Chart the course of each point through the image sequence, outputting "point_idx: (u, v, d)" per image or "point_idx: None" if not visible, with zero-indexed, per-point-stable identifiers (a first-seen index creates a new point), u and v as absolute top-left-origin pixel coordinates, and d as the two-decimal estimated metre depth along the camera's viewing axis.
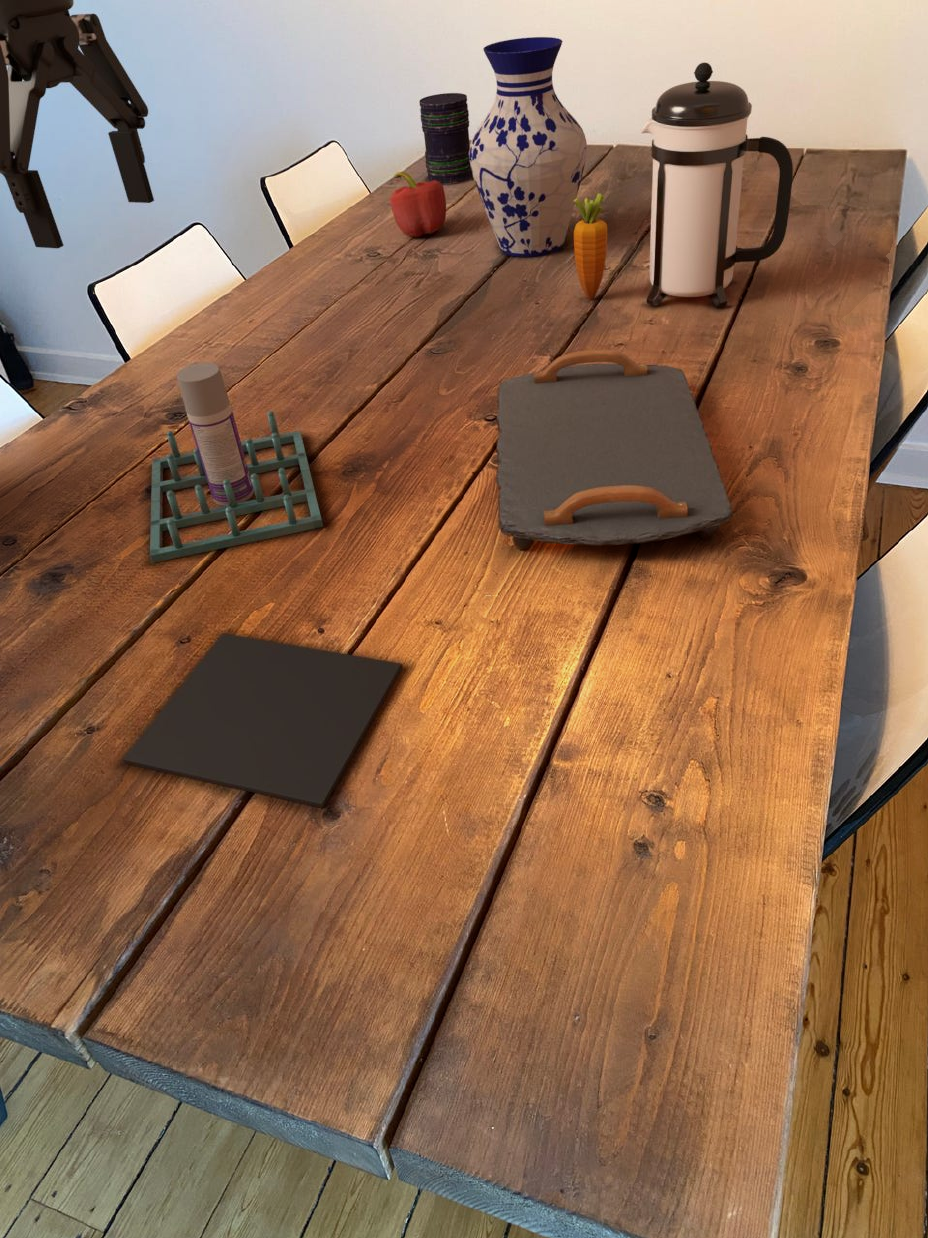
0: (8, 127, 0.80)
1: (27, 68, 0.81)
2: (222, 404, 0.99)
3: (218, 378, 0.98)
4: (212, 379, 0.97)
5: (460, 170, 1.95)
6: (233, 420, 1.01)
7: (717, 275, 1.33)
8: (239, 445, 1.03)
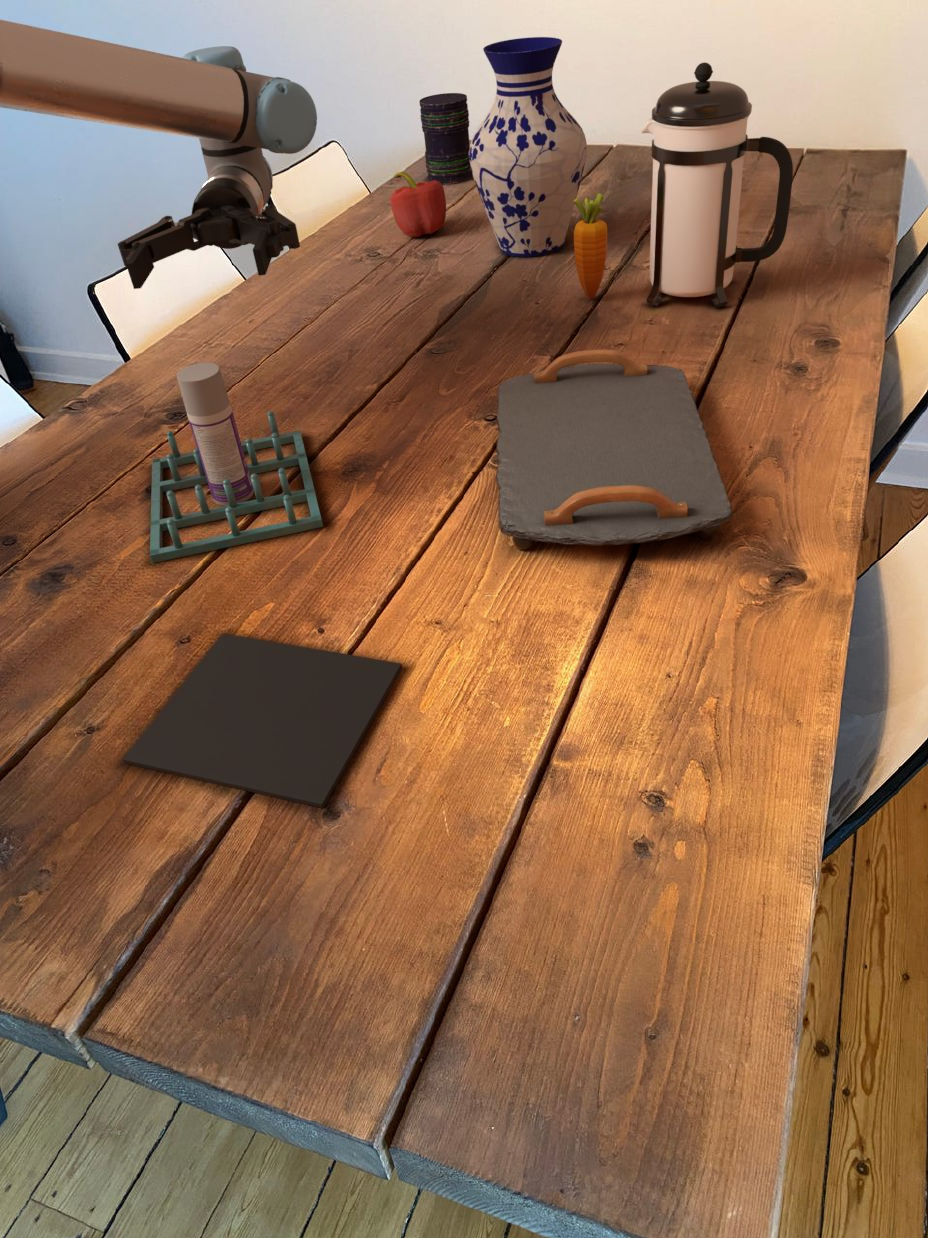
0: None
1: None
2: (222, 404, 0.99)
3: (218, 378, 0.98)
4: (212, 379, 0.97)
5: (460, 170, 1.95)
6: (233, 420, 1.01)
7: (717, 275, 1.33)
8: (239, 445, 1.03)
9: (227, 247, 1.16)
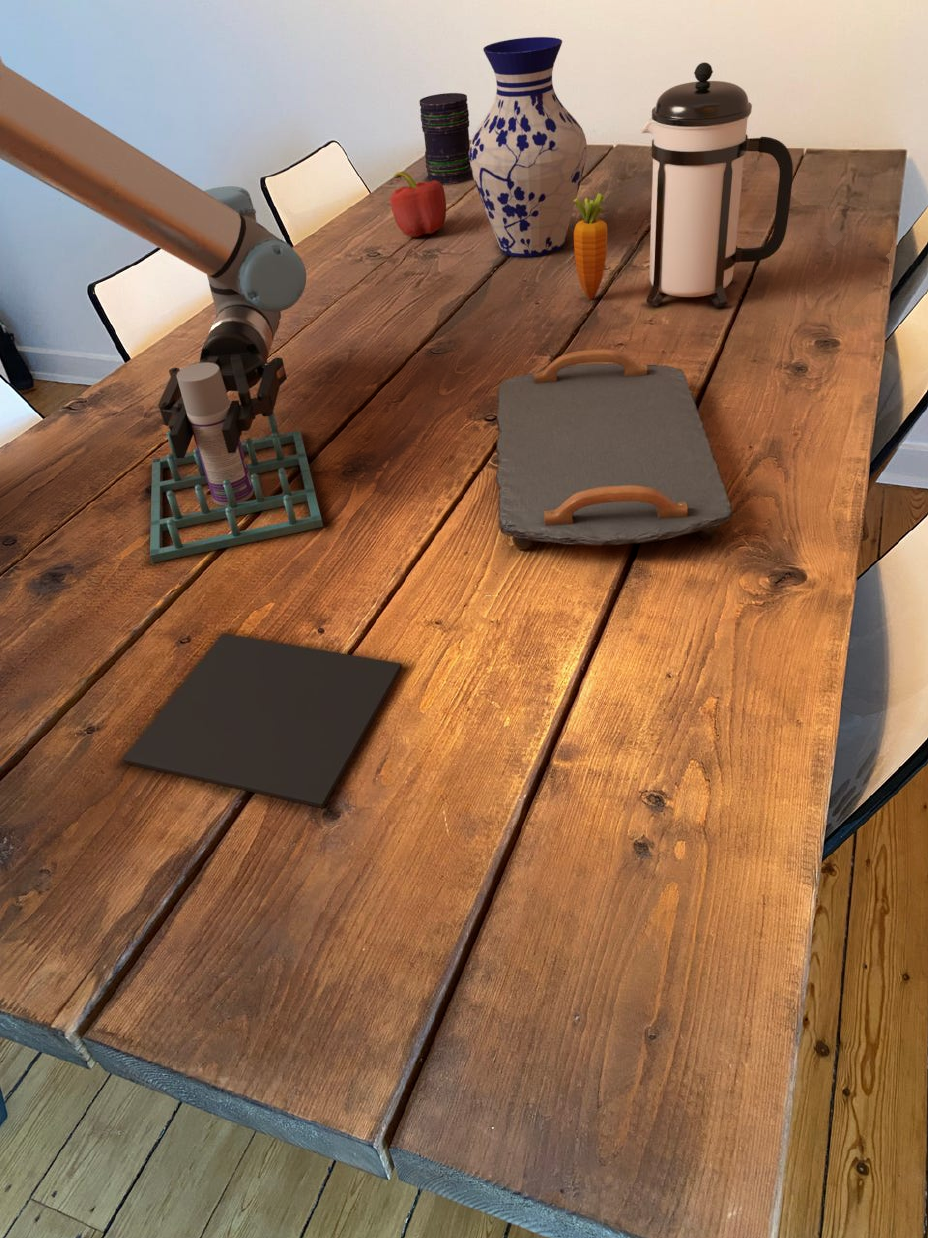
0: None
1: (256, 380, 1.10)
2: (222, 404, 0.99)
3: (218, 378, 0.98)
4: (212, 379, 0.97)
5: (460, 170, 1.95)
6: None
7: (717, 275, 1.33)
8: (239, 445, 1.03)
9: None
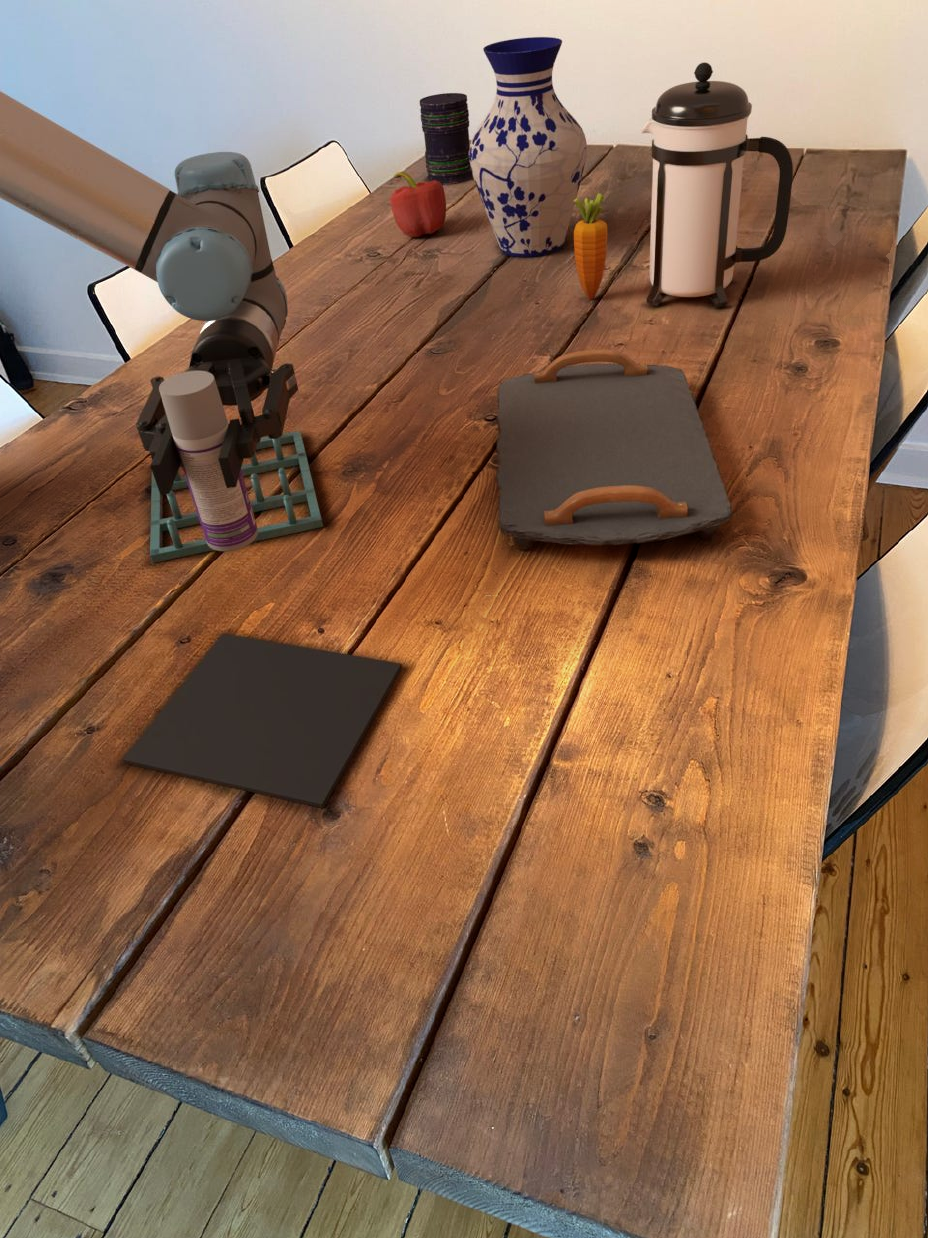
0: None
1: (260, 392, 0.88)
2: (218, 424, 0.77)
3: (213, 391, 0.76)
4: (205, 392, 0.75)
5: (460, 170, 1.95)
6: None
7: (717, 275, 1.33)
8: (240, 475, 0.81)
9: None
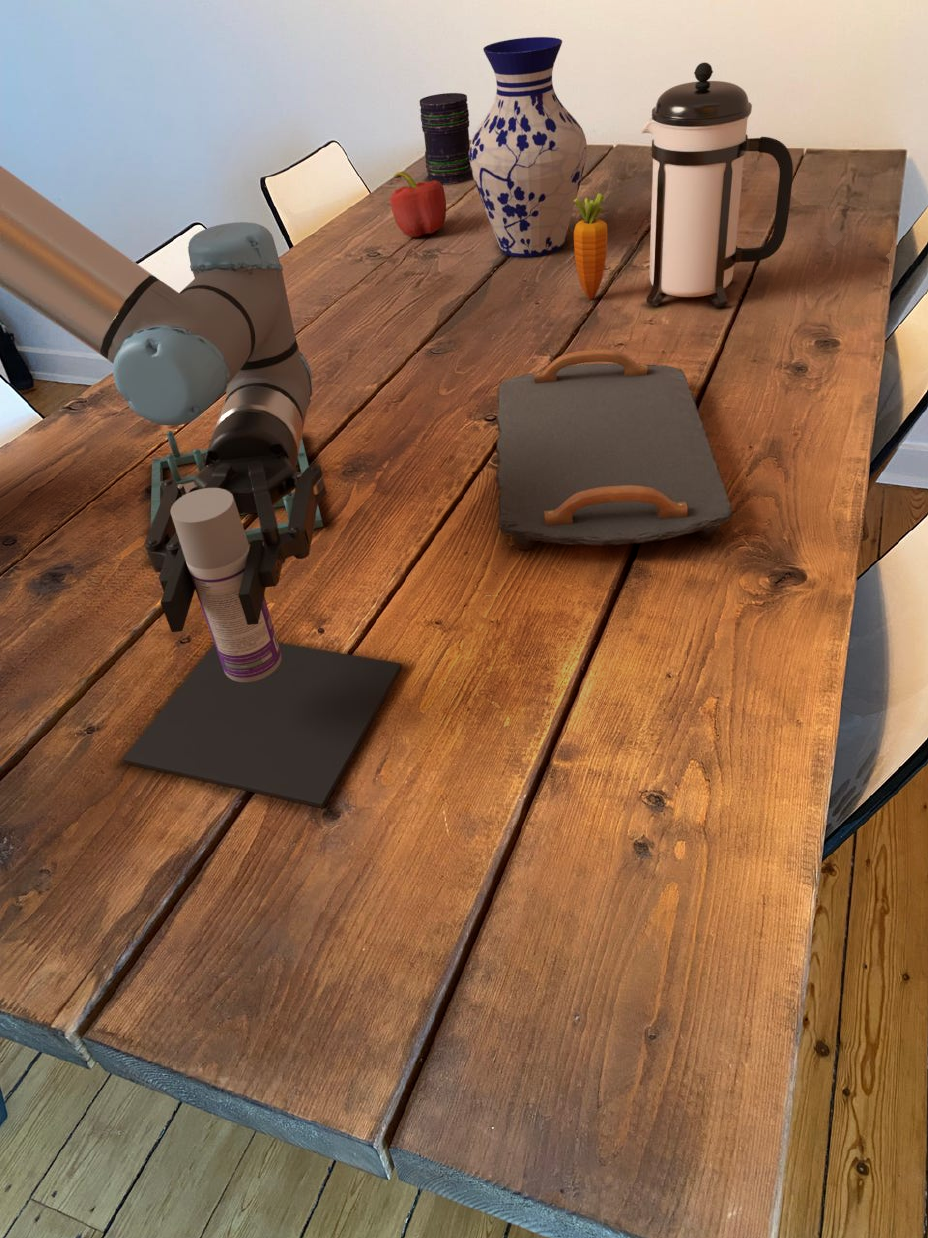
0: None
1: (283, 496, 0.78)
2: (238, 550, 0.67)
3: (233, 514, 0.66)
4: (224, 517, 0.65)
5: (460, 170, 1.95)
6: None
7: (717, 275, 1.33)
8: None
9: None
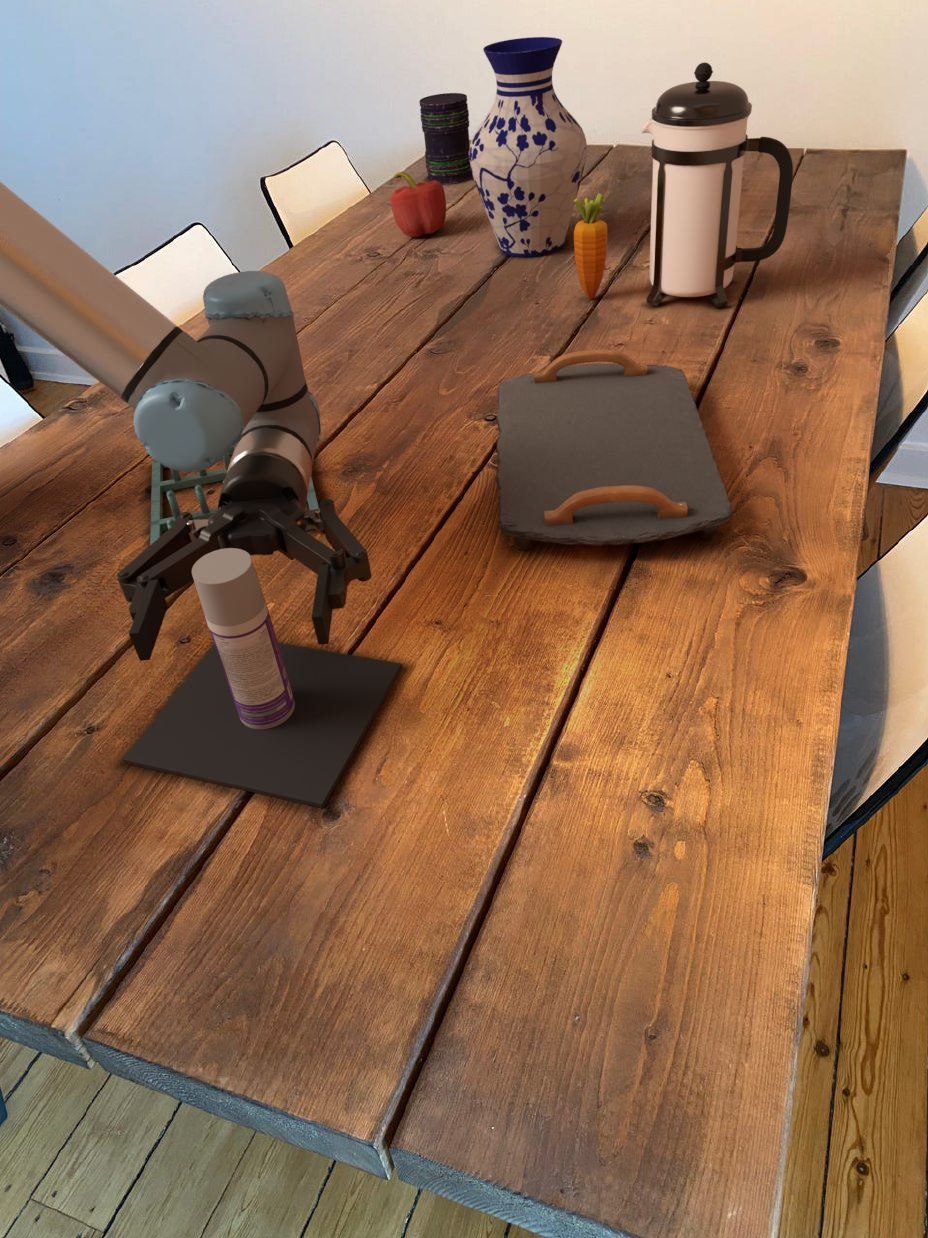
0: None
1: None
2: (255, 608, 0.71)
3: (251, 575, 0.69)
4: (242, 579, 0.69)
5: (460, 170, 1.95)
6: (270, 624, 0.73)
7: (717, 275, 1.33)
8: (277, 654, 0.75)
9: None
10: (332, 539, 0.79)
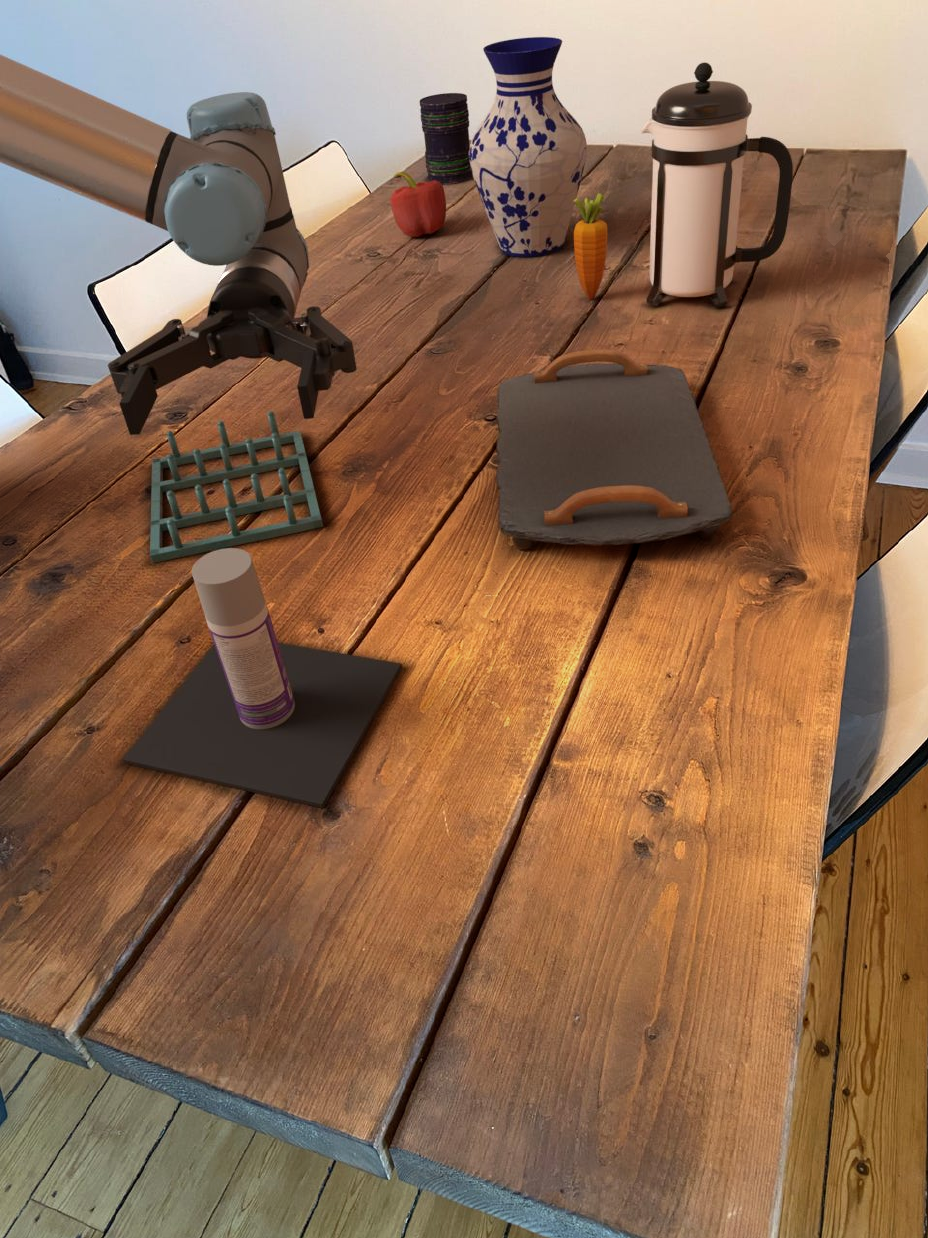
0: None
1: None
2: (255, 608, 0.71)
3: (251, 575, 0.69)
4: (243, 579, 0.69)
5: (460, 170, 1.95)
6: (270, 624, 0.73)
7: (717, 275, 1.33)
8: (277, 654, 0.75)
9: (253, 357, 0.88)
10: (318, 339, 0.81)
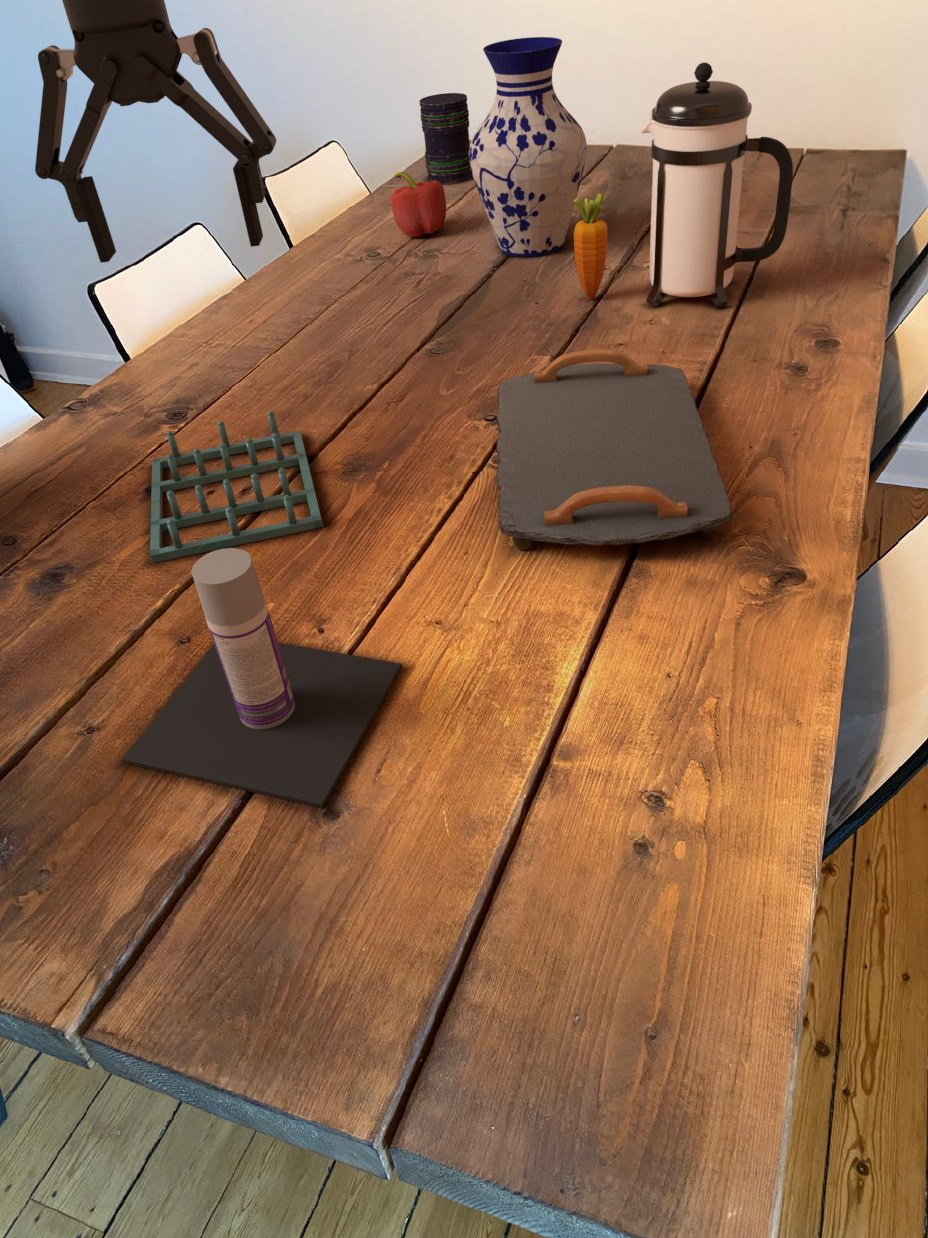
0: (51, 138, 0.78)
1: (93, 82, 0.76)
2: (256, 608, 0.71)
3: (251, 575, 0.69)
4: (243, 579, 0.69)
5: (460, 170, 1.95)
6: (270, 624, 0.73)
7: (717, 275, 1.33)
8: (277, 654, 0.75)
9: (114, 29, 0.72)
10: (60, 110, 0.78)
